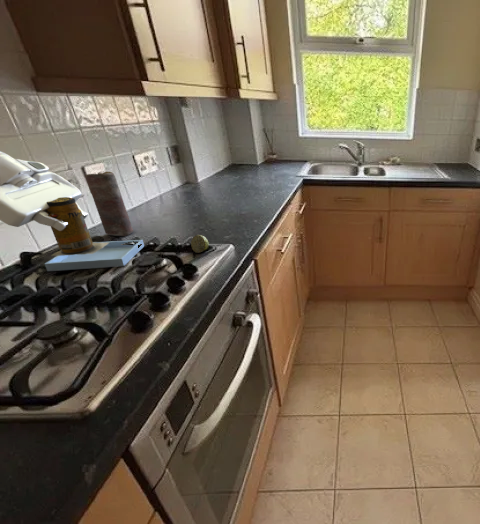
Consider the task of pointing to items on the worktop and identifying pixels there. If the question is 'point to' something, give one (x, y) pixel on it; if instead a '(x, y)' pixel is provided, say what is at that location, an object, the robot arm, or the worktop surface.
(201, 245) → the lime
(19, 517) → the worktop surface
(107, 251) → the blue tray
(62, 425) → the worktop surface
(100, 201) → the candle
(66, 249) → the condiment
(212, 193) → the worktop surface
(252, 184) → the worktop surface
